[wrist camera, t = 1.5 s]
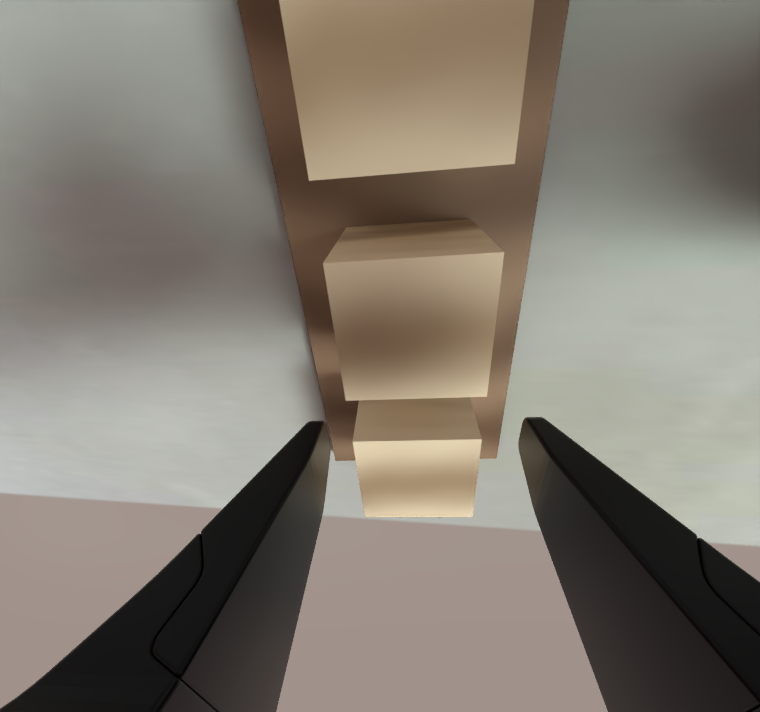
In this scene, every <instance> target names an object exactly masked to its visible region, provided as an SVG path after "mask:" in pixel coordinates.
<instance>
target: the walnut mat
mask: <svg viewBox="0 0 760 712" xmlns="http://www.w3.org/2000/svg"><path fill="white" fill-rule="evenodd" d="M238 4H239V9H240V14H241V18H242V23H243V28H244V32H245V37H246V42H247V47H248V51H249V56H250V61H251V65H252V70H253V75H254V79H255V84H256V89H257V94H258V98H259V103H260V108H261V112H262V117H263V122H264V126H265V131H266V136H267V141H268V145H269V150H270V155H271V159H272V164H273V169H274V173H275V178H276V183H277V188H278V192H279V197H280V202H281V206H282V211H283V216H284V220H285V225H286V230H287V235H288V239H289V244H290V249H291V253H292V258H293V263H294V267H295V272H296V277H297V282H298V286H299V291H300V296H301V300H302V305H303V310H304V314H305V319H306V324H307V329H308V333H309V338H310V343H311V347H312V352H313V357H314V361H315V366H316V371H317V376H318V380H319V385H320V390H321V394H322V399H323V404H324V408H325V413H326V418H327V423H328V427H329V432H330V437H331V441H332V446H333V451H334V455H335V460H336V461H346V460H355V454H354V448H353V435H354V429H355V423H356V416H357V410H358V403H359V400H354V401H346V399H345V393H344V387H343V381H342V375H341V369H340V363H339V357H338V351H337V345H336V339H335V333H334V327H333V321H332V315H331V309H330V303H329V297H328V291H327V285H326V279H325V273H324V267H323V262H324V261H325V259H326V258H327V256H328V255H329V253H330V252H331V250H332V249H333V247H334V246H335V244H336V243H337V241H338V240H339V238H340V236H341V235H342V233H343V232H344V230H345V229H346V228H347V227H361V226H375V225H389V224H404V223H418V222H432V221H446V220H460V219H471V220H472V221H473V222H474V223H475V224H476V225H477V226H478V227H479V228H480V229H481V230H482V231H483V232H484V233H485V234H486V235H487V236H489V237H490V238H491V239H492V240H493V241H494V242H495V243H496V244H497V245H498V246H499V247H500V248H501V249H502V250H503V251H504V259H503V268H502V276H501V284H500V293H499V301H498V309H497V318H496V326H495V334H494V343H493V351H492V359H491V368H490V376H489V384H488V392H487V397H470V400H471V403H472V407H473V410H474V414H475V417H476V421H477V424H478V428H479V431H480V435H481V438H482V442H481V450H480V459H488V458H497V452H498V445H499V439H500V433H501V427H502V420H503V414H504V408H505V401H506V395H507V389H508V383H509V376H510V370H511V364H512V357H513V351H514V345H515V339H516V332H517V326H518V320H519V314H520V307H521V301H522V295H523V288H524V282H525V276H526V270H527V263H528V257H529V251H530V244H531V238H532V232H533V226H534V219H535V213H536V207H537V201H538V194H539V188H540V182H541V175H542V169H543V163H544V157H545V150H546V144H547V138H548V131H549V125H550V119H551V113H552V106H553V100H554V94H555V87H556V81H557V75H558V69H559V62H560V56H561V50H562V44H563V37H564V31H565V25H566V18H567V12H568V6H569V0H534V8H533V17H532V25H531V33H530V42H529V50H528V58H527V67H526V75H525V83H524V92H523V100H522V108H521V117H520V125H519V133H518V141H517V150H516V158H515V164H508V165H495V166H483V167H471V168H459V169H447V170H435V171H423V172H410V173H398V174H386V175H374V176H362V177H350V178H338V179H325V180H313V181H309V178H308V172H307V166H306V160H305V154H304V148H303V142H302V136H301V130H300V124H299V118H298V112H297V106H296V100H295V94H294V88H293V82H292V76H291V70H290V64H289V58H288V52H287V46H286V40H285V34H284V28H283V22H282V16H281V10H280V4H279V0H238Z"/></svg>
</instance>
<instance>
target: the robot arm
mask: <svg viewBox="0 0 760 712" xmlns="http://www.w3.org/2000/svg"><path fill="white" fill-rule="evenodd" d="M519 452H520V456H521V460H522V465H523V469H524V473H525V477H526V481H527V485H528V489H529V493H530V497H531V501H532V505H533V508H534V512H535V515H536V518H537V521H538V523H539V526H540V529H541V531H542V534H543V537H544V540H545V542H546V545H547V548H548V550H549V553H550V556H551V559H552V561H553V564H554V567H555V569H556V572H557V575H558V577H559V580H560V583H561V586H562V588H563V591H564V594H565V596H566V599H567V602H568V605H569V607H570V610H571V613H572V615H573V618H574V621H575V624H576V626H577V629H578V632H579V634H580V637H581V640H582V643H583V645H584V648H585V651H586V653H587V656H588V659H589V662H590V664H591V667H592V670H593V672H594V675H595V678H596V680H597V683H598V686H599V689H600V691H601V694H602V697H603V699H604V702H605V705H606V708H607V710H608V712H760V582H759V581H758V580H756V579H755V578H754V577H752V576H751V575H749V574H748V573H747V572H746V571H744V570H743V569H741V568H740V567H739V566H737V565H736V564H735V563H733V562H732V561H730V560H729V559H728V558H727V557H725V556H724V555H723V554H721V553H720V552H719V551H717V550H716V549H715V548H713V547H712V546H711V545H710V544H708V543H707V542H706V541H704V540H703V539H701V538H697V535H696V534H695V533H694V532H692V531H691V530H690V529H688V528H687V527H686V526H684V525H683V524H682V523H681V522H679V521H678V520H677V519H675V518H674V517H673V516H671V515H670V514H669V513H667V512H666V511H665V510H664V509H662V508H661V507H660V506H658V505H657V504H656V503H654V502H653V501H652V500H650V499H649V498H648V497H646V496H645V495H644V494H643V493H641V492H640V491H639V490H637V489H636V488H635V487H633V486H632V485H631V484H629V483H628V482H627V481H626V480H624V479H623V478H622V477H620V476H619V475H618V474H616V473H615V472H614V471H612V470H611V469H610V468H609V467H607V466H606V465H605V464H603V463H602V462H601V461H599V460H598V459H597V458H595V457H594V456H593V455H592V454H590V453H589V452H588V451H586V450H585V449H584V448H582V447H581V446H580V445H578V444H577V443H576V442H575V441H573V440H572V439H571V438H569V437H568V436H567V435H565V434H564V433H563V432H561V431H560V430H559V429H557V428H556V427H555V426H554V425H552V424H551V423H550V422H548V421H547V420H546V419H544V418H542V417H527V418H525V419H524V420H523V423H522V428H521V433H520V437H519ZM329 460H330V441H329V436H328V431H327V426H326V423H325V422H324V421H310V422H308V423H307V424H306V425H305V426H304V427H303V428H302V429H301V430H300V431H299V432H298V433H297V434H296V435H295V436H294V437H293V438H292V439H291V440H290V441H289V442H288V443H287V444H286V445H285V446H284V447H283V448H282V449H281V450H280V451H279V452H278V453H277V454H276V455H275V456H274V457H273V458H272V459H271V460H270V461H269V462H268V463H267V464H266V465H265V466H264V467H263V468H262V469H261V470H260V471H259V472H258V473H257V475H256V476H255V477H254V478H253V479H252V480H251V481H250V482H249V483H248V484H247V485H246V486H245V487H244V488H243V489H242V490H241V491H240V492H239V493H238V494H237V495H236V496H235V497H234V498H233V499H232V500H231V501H230V502H229V503H228V504H227V505H226V506H225V507H224V508H223V509H222V510H221V511H220V512H219V513H218V514H217V515H216V516H215V517H214V518H213V519H212V520H211V522H209V523H208V525H206V526H205V527H204V529H203V530H202V531H201V534H197V535H196V537H195V538H194V539H193V540H192V541H191V542H190V543H189V544H188V545H187V546H186V547H185V548H184V549H183V550H182V551H181V552H180V553H179V554H178V555H177V556H176V557H175V558H174V559H172V560H171V561H170V563H168V565H166V567H164V568H163V569H162V570H161V571H160V572H159V573H158V574H157V575H156V576H155V577H154V578H153V579H152V580H151V581H149V582H148V583H147V584H146V585H145V586H144V587H143V588H142V589H141V590H140V591H139V592H138V593H136V594H135V595H134V596H133V597H132V598H131V599H130V600H129V601H128V602H127V603H125V605H123V606H122V607H121V608H120V609H119V610H117V611H116V612H115V613H114V614H113V615H112V616H111V617H110V618H109V619H107V620H106V621H105V622H104V623H103V624H102V625H101V626H100V627H98V628H97V629H96V630H95V631H94V632H93V633H92V634H91V635H89V636H88V637H87V638H86V639H85V640H84V641H83V642H82V643H80V644H79V645H78V646H77V647H76V648H75V649H74V650H72V651H71V652H70V653H69V654H68V655H67V656H66V657H64V658H63V659H62V660H61V661H60V662H59V663H58V664H57V665H55V666H54V667H53V668H52V669H51V670H50V671H49V672H48V673H46V674H45V675H44V676H43V677H42V678H40V679H39V680H38V681H37V682H36V683H34V684H33V685H32V686H31V687H29V688H28V689H27V690H25V691H24V692H23V693H22V694H21V695H19V696H18V697H17V698H15V699H14V700H12V701H11V702H9V703H8V704H6V705H5V706H3V707H2V708H0V712H276V710H277V705H278V701H279V697H280V692H281V688H282V684H283V680H284V676H285V672H286V667H287V663H288V659H289V655H290V650H291V646H292V642H293V638H294V633H295V629H296V625H297V621H298V616H299V612H300V608H301V604H302V599H303V595H304V591H305V587H306V583H307V578H308V574H309V570H310V565H311V561H312V557H313V553H314V549H315V544H316V540H317V536H318V532H319V527H320V523H321V519H322V514H323V509H324V501H325V493H326V485H327V477H328V468H329Z"/></svg>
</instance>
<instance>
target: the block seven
mask: <svg viewBox="0 0 760 712" xmlns="http://www.w3.org/2000/svg"><path fill="white" fill-rule="evenodd" d="M279 4H280V10H281V16H282V22H283V28H284V34H285V40H286V46H287V52H288V58H289V64H290V70H291V76H292V82H293V88H294V94H295V100H296V106H297V112H298V118H299V124H300V130H301V136H302V142H303V148H304V154H305V160H306V166H307V172H308V178H309V181H313V180H325V179H338V178H350V177H362V176H374V175H386V174H398V173H410V172H423V171H435V170H447V169H459V168H471V167H483V166H495V165H508V164H515V158H516V150H517V141H518V133H519V125H520V117H521V108H522V100H523V92H524V83H525V75H526V67H527V58H528V50H529V42H530V33H531V25H532V17H533V8H534V0H279Z"/></svg>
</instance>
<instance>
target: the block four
mask: <svg viewBox="0 0 760 712" xmlns="http://www.w3.org/2000/svg"><path fill="white" fill-rule="evenodd" d="M481 442H482V438H481V435H480V431H479V428H478V424H477V421H476V417H475V414H474V410H473V407H472V403H471V400H470V397H460V398H425V399H390V400H359V403H358V410H357V416H356V423H355V429H354V435H353V448H354V454H355V460H356V466H357V472H358V478H359V484H360V490H361V496H362V502H363V508H364V514H365V517H473V509H474V500H475V492H476V484H477V475H478V467H479V459H480V450H481Z"/></svg>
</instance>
